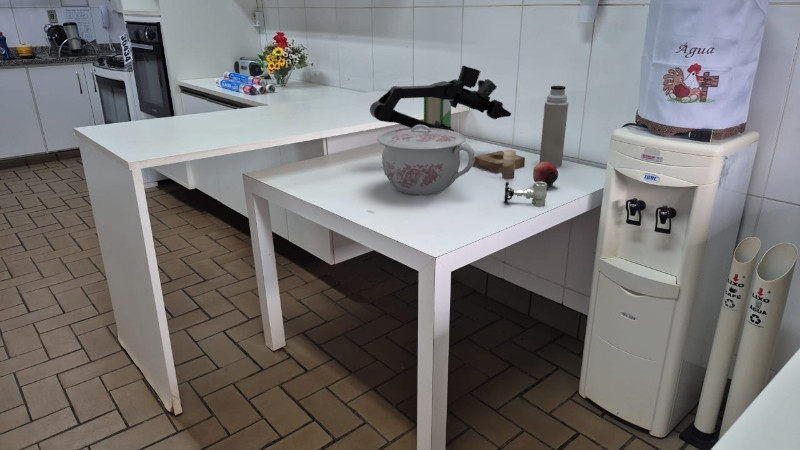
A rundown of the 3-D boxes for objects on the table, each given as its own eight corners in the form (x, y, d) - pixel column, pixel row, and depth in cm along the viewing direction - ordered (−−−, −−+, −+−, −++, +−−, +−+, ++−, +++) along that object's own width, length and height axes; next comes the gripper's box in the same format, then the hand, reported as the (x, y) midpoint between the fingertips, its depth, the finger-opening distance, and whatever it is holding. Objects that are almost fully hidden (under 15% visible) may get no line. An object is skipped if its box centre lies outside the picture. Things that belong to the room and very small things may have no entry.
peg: (508, 180, 184) (510, 153, 180) (499, 177, 187) (501, 151, 183) (516, 177, 186) (518, 151, 182) (507, 175, 189) (509, 149, 185)
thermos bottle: (537, 161, 205) (544, 84, 194) (559, 161, 204) (567, 84, 193) (540, 167, 197) (548, 87, 187) (563, 167, 196) (572, 87, 186)
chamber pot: (367, 181, 183) (365, 119, 175) (442, 172, 192) (443, 113, 184) (396, 209, 159) (395, 138, 151) (480, 197, 168) (483, 130, 160)
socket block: (496, 173, 190) (497, 163, 189) (472, 166, 199) (473, 156, 198) (524, 166, 198) (525, 157, 196) (500, 159, 207) (500, 150, 205)
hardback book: (442, 155, 213) (443, 92, 204) (423, 154, 215) (423, 92, 206) (450, 144, 229) (451, 86, 220) (432, 143, 231) (433, 85, 222)
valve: (545, 201, 164) (504, 199, 166) (547, 180, 162) (505, 178, 164) (546, 209, 158) (504, 206, 160) (548, 187, 156) (505, 185, 158)
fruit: (547, 182, 181) (549, 158, 178) (561, 188, 175) (564, 164, 172) (527, 184, 179) (529, 161, 176) (541, 191, 172) (543, 167, 169)
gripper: (489, 82, 187) (526, 96, 193) (468, 72, 203) (502, 85, 210) (476, 113, 191) (513, 125, 197) (456, 101, 207) (491, 113, 213)
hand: (505, 111), depth 204 cm, fingers open, 9 cm apart
